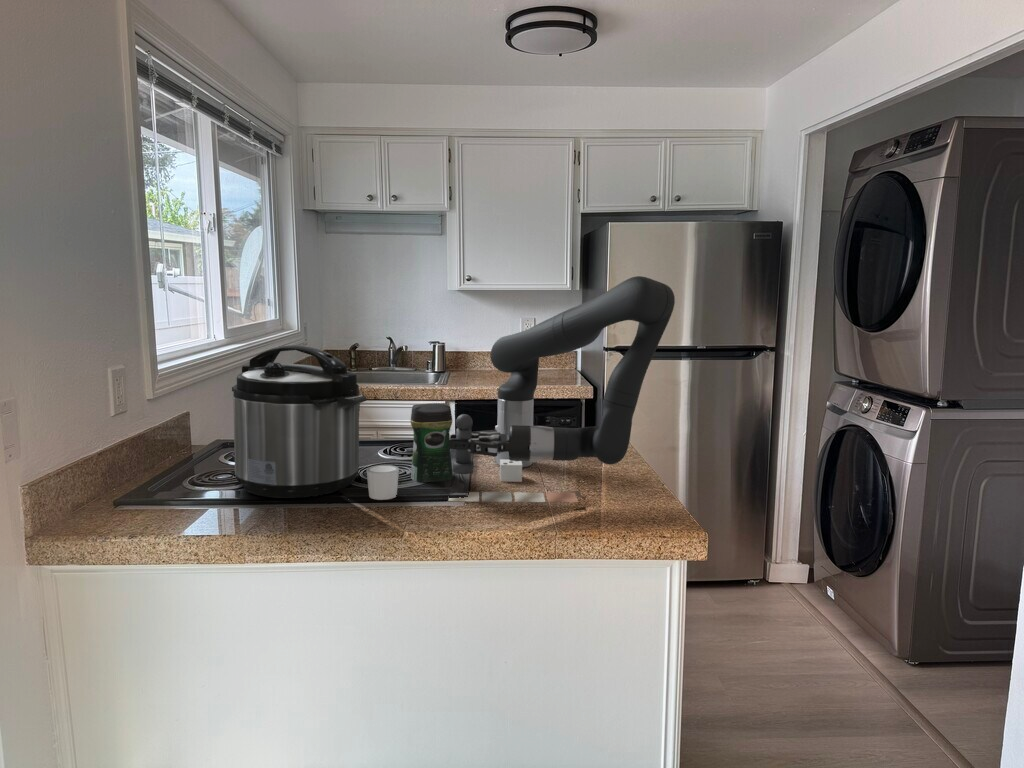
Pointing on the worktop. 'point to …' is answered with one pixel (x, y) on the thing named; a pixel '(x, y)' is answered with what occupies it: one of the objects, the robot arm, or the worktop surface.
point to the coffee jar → (431, 442)
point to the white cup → (382, 481)
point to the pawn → (463, 456)
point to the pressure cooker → (296, 425)
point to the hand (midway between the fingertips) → (450, 441)
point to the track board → (522, 497)
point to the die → (510, 471)
